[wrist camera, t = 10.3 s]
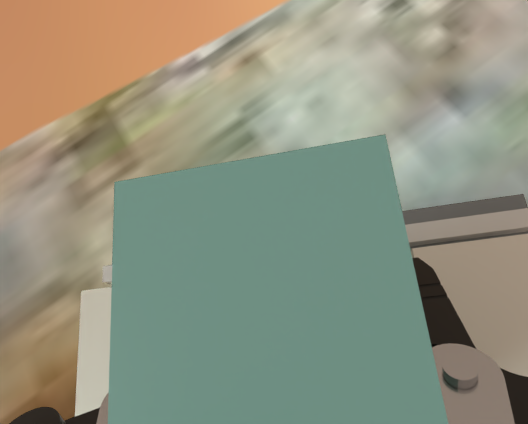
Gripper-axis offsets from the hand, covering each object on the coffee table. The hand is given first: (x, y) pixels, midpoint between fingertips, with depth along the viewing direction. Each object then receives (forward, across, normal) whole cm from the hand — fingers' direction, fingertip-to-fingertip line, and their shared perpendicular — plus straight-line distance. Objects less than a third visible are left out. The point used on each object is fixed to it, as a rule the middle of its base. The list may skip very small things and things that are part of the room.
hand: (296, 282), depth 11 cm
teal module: (+2, 0, +4) cm, 5 cm away
